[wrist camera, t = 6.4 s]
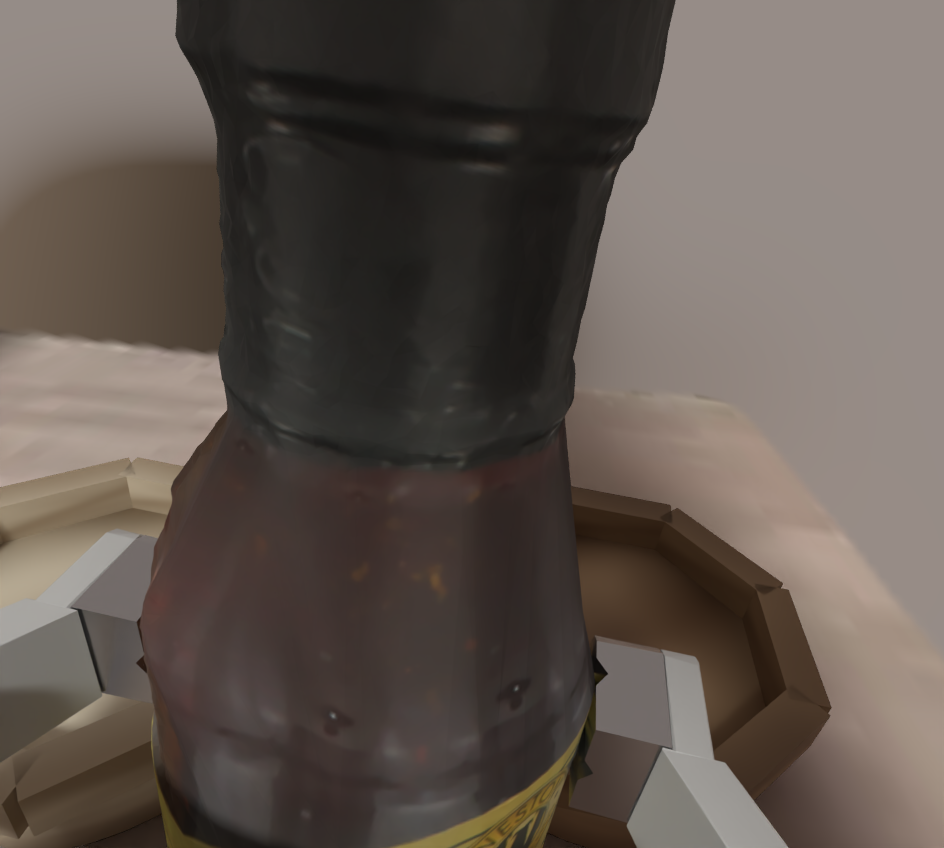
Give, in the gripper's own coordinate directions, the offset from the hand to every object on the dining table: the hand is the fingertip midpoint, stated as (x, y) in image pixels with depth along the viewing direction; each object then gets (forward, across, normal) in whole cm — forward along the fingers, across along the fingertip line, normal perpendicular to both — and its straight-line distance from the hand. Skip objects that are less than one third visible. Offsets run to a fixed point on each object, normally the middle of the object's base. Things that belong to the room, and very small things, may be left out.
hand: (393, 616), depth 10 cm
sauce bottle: (-1, 0, +11) cm, 11 cm away
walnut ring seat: (+9, -6, +11) cm, 15 cm away
